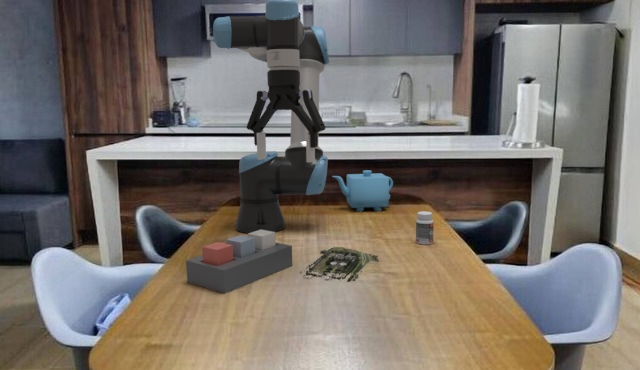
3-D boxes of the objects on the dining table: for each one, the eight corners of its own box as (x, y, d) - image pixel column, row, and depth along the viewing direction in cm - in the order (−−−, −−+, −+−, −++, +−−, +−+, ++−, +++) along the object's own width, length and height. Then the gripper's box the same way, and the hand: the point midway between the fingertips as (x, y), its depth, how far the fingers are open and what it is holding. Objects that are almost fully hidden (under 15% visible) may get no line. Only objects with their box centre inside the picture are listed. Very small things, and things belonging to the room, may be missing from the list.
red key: (203, 264, 117) (202, 246, 116) (219, 259, 121) (218, 241, 120) (217, 268, 114) (216, 250, 114) (233, 262, 118) (232, 245, 117)
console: (187, 281, 119) (186, 260, 118) (256, 257, 136) (255, 238, 135) (224, 293, 111) (223, 270, 111) (292, 265, 129) (291, 245, 128)
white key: (248, 249, 128) (247, 233, 127) (261, 245, 132) (261, 229, 131) (262, 252, 125) (262, 236, 125) (275, 248, 129) (275, 232, 128)
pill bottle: (433, 245, 144) (433, 215, 143) (415, 244, 145) (416, 214, 144) (433, 240, 149) (433, 211, 148) (416, 239, 150) (416, 210, 149)
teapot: (389, 204, 198) (389, 167, 195) (396, 211, 187) (396, 172, 184) (330, 206, 196) (329, 169, 193) (333, 213, 185) (333, 173, 182)
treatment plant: (373, 286, 116) (373, 270, 115) (292, 282, 119) (292, 266, 118) (381, 253, 140) (381, 239, 139) (313, 250, 143) (313, 237, 143)
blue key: (226, 256, 123) (226, 239, 122) (241, 251, 126) (240, 235, 125) (241, 259, 120) (240, 242, 119) (255, 254, 123) (254, 238, 123)
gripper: (230, 70, 126) (233, 159, 130) (324, 66, 115) (325, 164, 118) (248, 71, 133) (251, 156, 136) (339, 68, 121) (339, 161, 125)
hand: (285, 160), depth 127 cm, fingers open, 13 cm apart
